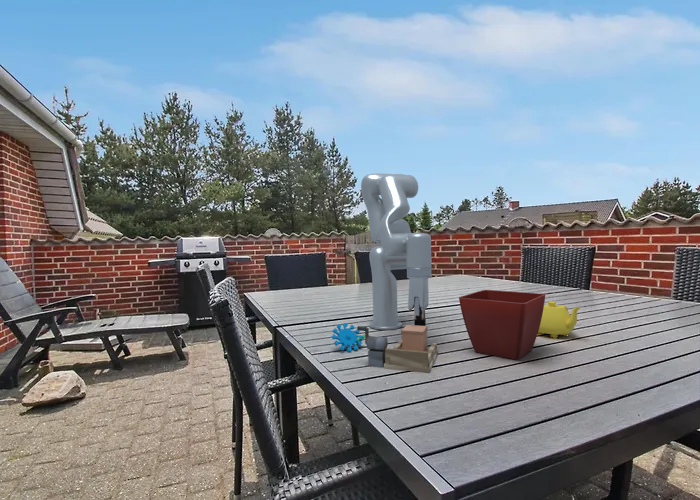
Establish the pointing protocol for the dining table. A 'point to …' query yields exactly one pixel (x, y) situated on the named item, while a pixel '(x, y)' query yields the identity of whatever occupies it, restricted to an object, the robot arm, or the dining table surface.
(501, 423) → the dining table surface
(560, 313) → the teapot
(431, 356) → the bay
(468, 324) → the plant pot
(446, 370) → the dining table surface
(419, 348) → the pink-tan cube
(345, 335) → the gear
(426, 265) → the robot arm
